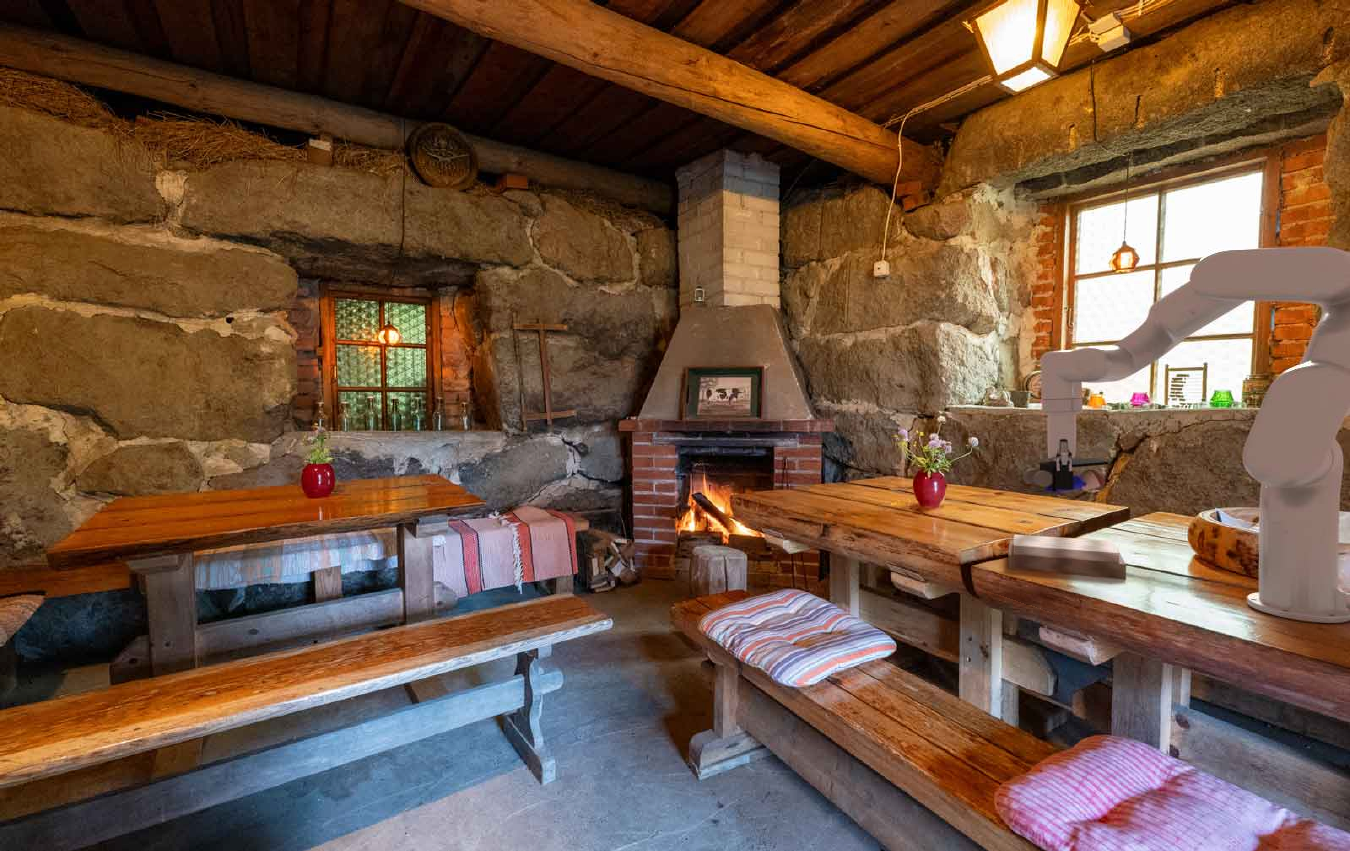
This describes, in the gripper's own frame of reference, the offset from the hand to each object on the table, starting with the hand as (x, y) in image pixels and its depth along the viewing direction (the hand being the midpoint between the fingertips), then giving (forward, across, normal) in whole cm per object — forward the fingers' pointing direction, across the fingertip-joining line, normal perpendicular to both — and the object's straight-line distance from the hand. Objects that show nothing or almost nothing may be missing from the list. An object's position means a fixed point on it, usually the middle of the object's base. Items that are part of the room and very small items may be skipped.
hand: (1063, 486), depth 135 cm
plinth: (+18, 0, 0) cm, 18 cm away
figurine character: (+2, 0, 0) cm, 2 cm away
